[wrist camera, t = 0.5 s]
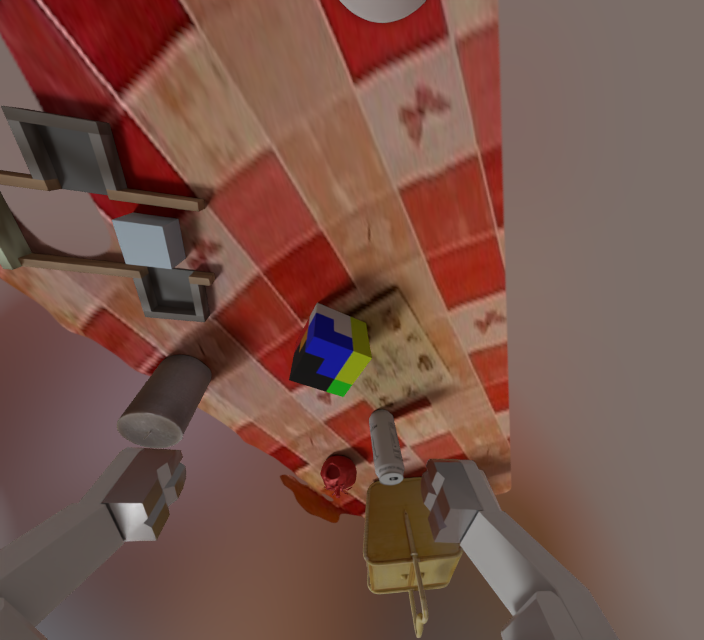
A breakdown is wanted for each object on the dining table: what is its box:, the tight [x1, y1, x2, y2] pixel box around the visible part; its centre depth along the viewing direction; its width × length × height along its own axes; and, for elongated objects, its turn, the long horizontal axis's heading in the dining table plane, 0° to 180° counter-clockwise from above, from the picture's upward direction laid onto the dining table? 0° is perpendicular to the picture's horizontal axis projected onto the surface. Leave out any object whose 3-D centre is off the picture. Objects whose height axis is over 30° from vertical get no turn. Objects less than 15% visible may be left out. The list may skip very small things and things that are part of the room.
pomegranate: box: [320, 455, 357, 498], centre depth 73 cm, size 10×10×9 cm
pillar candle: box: [117, 355, 211, 448], centre depth 49 cm, size 10×10×15 cm
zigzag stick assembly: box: [0, 106, 215, 322], centre depth 38 cm, size 27×27×4 cm
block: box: [112, 213, 186, 269], centre depth 38 cm, size 6×6×4 cm
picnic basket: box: [363, 477, 463, 638], centre depth 78 cm, size 29×26×30 cm
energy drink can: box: [369, 410, 404, 485], centre depth 60 cm, size 6×6×15 cm
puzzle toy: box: [289, 303, 372, 397], centre depth 47 cm, size 10×10×10 cm
